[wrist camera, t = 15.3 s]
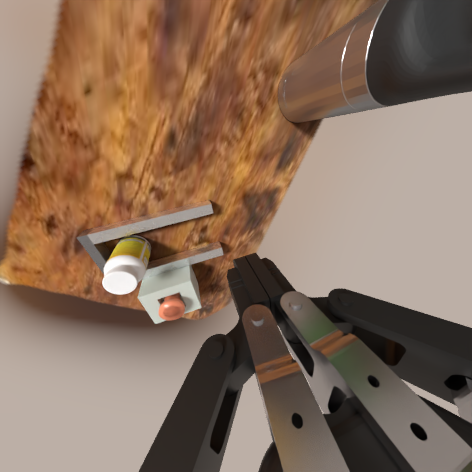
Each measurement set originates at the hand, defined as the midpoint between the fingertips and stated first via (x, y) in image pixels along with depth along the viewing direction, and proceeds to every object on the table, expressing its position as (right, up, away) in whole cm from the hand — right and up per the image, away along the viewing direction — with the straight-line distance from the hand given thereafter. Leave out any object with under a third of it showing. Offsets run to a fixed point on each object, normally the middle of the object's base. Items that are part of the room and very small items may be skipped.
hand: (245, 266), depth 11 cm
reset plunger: (-14, -11, +25) cm, 31 cm away
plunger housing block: (-16, -8, +31) cm, 36 cm away
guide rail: (-16, +1, +26) cm, 30 cm away
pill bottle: (-22, 0, +25) cm, 33 cm away
